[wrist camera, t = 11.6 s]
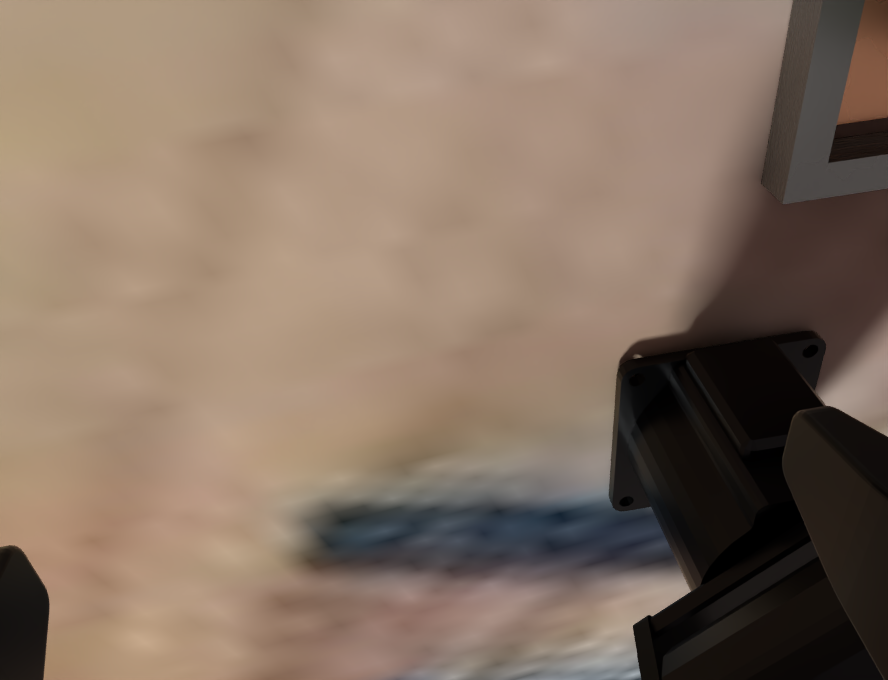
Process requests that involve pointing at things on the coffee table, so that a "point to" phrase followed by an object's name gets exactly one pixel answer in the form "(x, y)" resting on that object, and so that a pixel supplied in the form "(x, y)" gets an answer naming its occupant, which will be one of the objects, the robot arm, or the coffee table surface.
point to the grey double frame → (830, 102)
